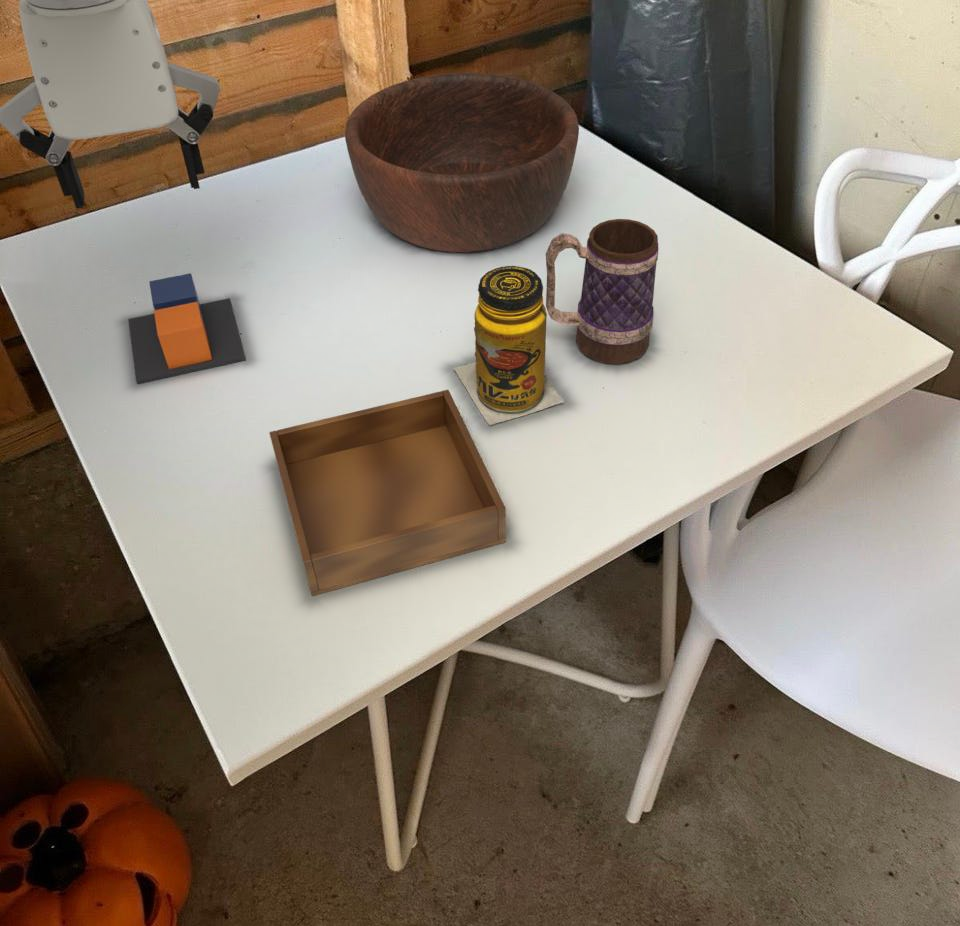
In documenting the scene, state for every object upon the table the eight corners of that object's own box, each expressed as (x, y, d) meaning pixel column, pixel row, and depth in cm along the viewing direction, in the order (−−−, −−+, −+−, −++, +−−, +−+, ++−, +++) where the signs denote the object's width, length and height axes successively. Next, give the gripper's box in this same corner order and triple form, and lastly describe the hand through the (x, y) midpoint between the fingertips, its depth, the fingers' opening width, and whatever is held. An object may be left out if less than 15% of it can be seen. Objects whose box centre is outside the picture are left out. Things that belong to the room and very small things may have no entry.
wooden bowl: (581, 160, 113) (587, 76, 106) (563, 277, 96) (569, 186, 89) (382, 148, 116) (374, 66, 109) (330, 260, 99) (316, 171, 91)
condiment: (489, 427, 80) (487, 315, 72) (453, 369, 86) (447, 259, 77) (564, 404, 82) (571, 292, 74) (524, 349, 88) (527, 239, 79)
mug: (644, 319, 91) (658, 210, 82) (654, 366, 86) (671, 255, 77) (540, 321, 91) (543, 212, 82) (544, 368, 86) (548, 257, 77)
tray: (311, 596, 68) (303, 562, 65) (277, 466, 78) (269, 431, 75) (505, 542, 71) (505, 508, 69) (450, 423, 81) (448, 389, 78)
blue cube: (163, 338, 89) (152, 304, 87) (160, 314, 92) (149, 281, 89) (205, 329, 90) (195, 295, 87) (200, 306, 93) (191, 272, 90)
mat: (137, 384, 85) (135, 380, 85) (129, 321, 92) (128, 318, 92) (245, 360, 87) (244, 357, 87) (230, 301, 94) (229, 297, 94)
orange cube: (169, 369, 86) (157, 335, 83) (164, 344, 89) (153, 310, 86) (212, 360, 87) (202, 325, 84) (207, 335, 90) (197, 301, 87)
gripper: (188, -49, 73) (232, 156, 85) (-48, -23, 69) (33, 188, 81) (199, -20, 68) (244, 194, 80) (-54, 11, 64) (33, 230, 76)
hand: (138, 191), depth 80 cm, fingers open, 9 cm apart
